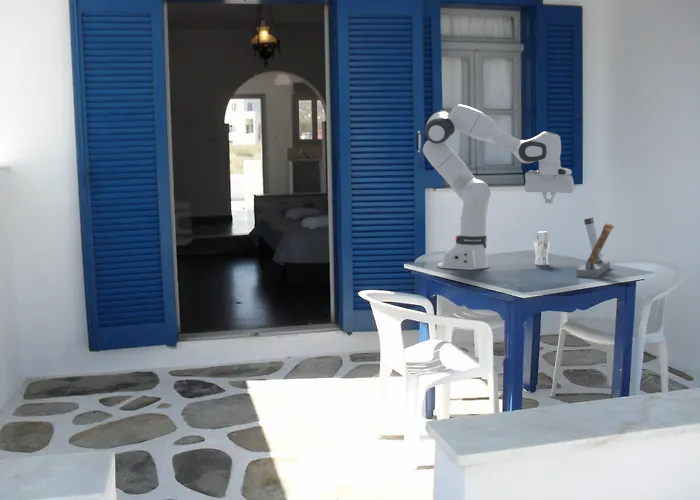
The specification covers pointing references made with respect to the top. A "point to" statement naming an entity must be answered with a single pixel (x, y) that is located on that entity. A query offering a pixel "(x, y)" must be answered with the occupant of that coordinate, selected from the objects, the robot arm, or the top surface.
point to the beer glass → (541, 247)
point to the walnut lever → (600, 243)
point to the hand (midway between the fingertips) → (548, 203)
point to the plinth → (593, 269)
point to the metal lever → (592, 234)
